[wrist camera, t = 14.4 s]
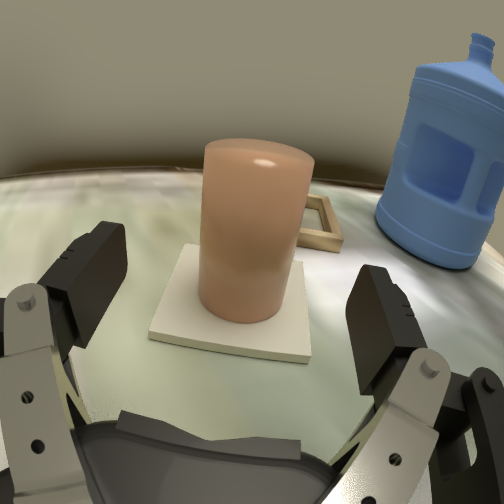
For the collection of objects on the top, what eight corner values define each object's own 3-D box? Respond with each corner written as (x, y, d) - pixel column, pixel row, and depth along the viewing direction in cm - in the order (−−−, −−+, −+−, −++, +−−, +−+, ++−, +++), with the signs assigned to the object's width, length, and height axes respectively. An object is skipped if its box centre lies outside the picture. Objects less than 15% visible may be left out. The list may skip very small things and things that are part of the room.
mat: (300, 269, 27) (302, 261, 27) (307, 363, 19) (311, 355, 18) (185, 251, 27) (185, 243, 26) (149, 338, 18) (148, 330, 18)
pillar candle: (281, 256, 27) (304, 139, 21) (284, 328, 20) (322, 178, 14) (210, 247, 26) (219, 128, 21) (190, 316, 20) (194, 161, 14)
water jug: (365, 199, 44) (409, 20, 29) (451, 225, 43) (500, 64, 28) (384, 255, 31) (453, -2, 16) (489, 283, 30) (563, 72, 15)
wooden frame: (325, 207, 39) (328, 196, 38) (339, 252, 30) (343, 239, 29) (243, 193, 39) (245, 182, 38) (233, 235, 30) (235, 221, 29)
